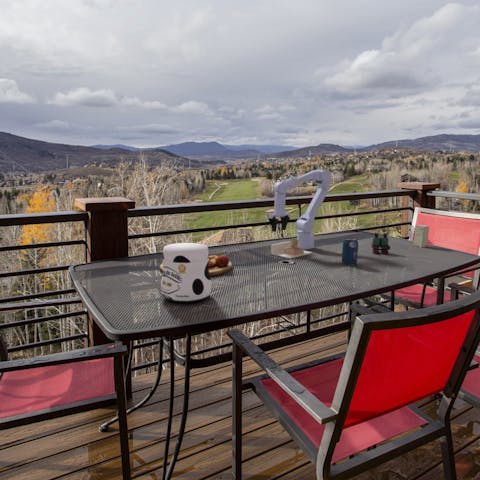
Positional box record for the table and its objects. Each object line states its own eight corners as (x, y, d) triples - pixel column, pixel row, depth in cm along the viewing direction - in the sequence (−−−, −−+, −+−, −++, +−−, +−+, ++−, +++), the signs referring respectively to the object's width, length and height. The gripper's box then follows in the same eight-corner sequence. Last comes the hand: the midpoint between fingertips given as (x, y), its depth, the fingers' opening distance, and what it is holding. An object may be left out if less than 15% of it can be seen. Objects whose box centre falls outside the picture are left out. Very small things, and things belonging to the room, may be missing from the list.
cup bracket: (293, 249, 220) (293, 240, 219) (312, 253, 211) (312, 243, 210) (271, 254, 208) (271, 244, 207) (290, 258, 199) (290, 248, 198)
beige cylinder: (295, 252, 211) (296, 239, 210) (299, 253, 207) (299, 240, 206) (288, 252, 210) (289, 239, 209) (291, 254, 206) (292, 240, 205)
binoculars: (375, 237, 206) (371, 231, 215) (373, 256, 209) (369, 250, 218) (393, 237, 205) (388, 232, 215) (391, 257, 208) (386, 251, 218)
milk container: (153, 304, 134) (152, 251, 131) (170, 288, 151) (169, 241, 147) (204, 308, 131) (204, 254, 128) (216, 291, 148) (216, 243, 145)
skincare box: (413, 245, 234) (415, 224, 232) (418, 244, 236) (420, 224, 234) (422, 247, 229) (424, 226, 226) (427, 247, 230) (429, 225, 228)
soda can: (357, 266, 186) (359, 240, 184) (341, 265, 188) (343, 239, 185) (356, 262, 193) (357, 237, 191) (341, 261, 194) (342, 237, 192)
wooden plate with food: (246, 267, 184) (246, 249, 183) (200, 282, 158) (200, 262, 157) (192, 258, 202) (192, 241, 201) (144, 271, 176) (143, 252, 175)
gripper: (282, 203, 222) (282, 228, 224) (264, 205, 212) (264, 231, 215) (293, 205, 217) (292, 230, 219) (275, 206, 207) (274, 233, 210)
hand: (278, 230), depth 217 cm, fingers open, 7 cm apart
